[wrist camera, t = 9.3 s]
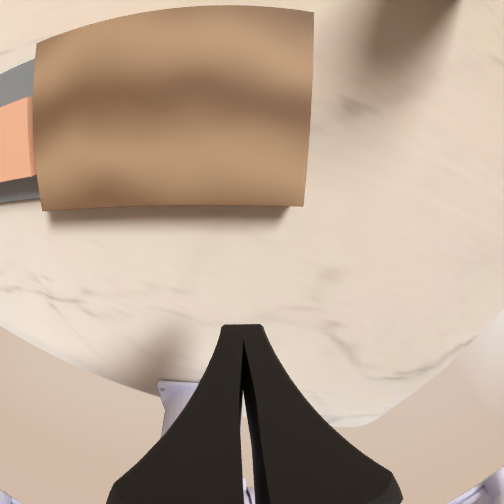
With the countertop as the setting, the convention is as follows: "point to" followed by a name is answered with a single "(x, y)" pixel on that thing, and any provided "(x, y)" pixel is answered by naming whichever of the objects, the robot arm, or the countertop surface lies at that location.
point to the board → (175, 109)
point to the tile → (17, 140)
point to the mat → (5, 92)
